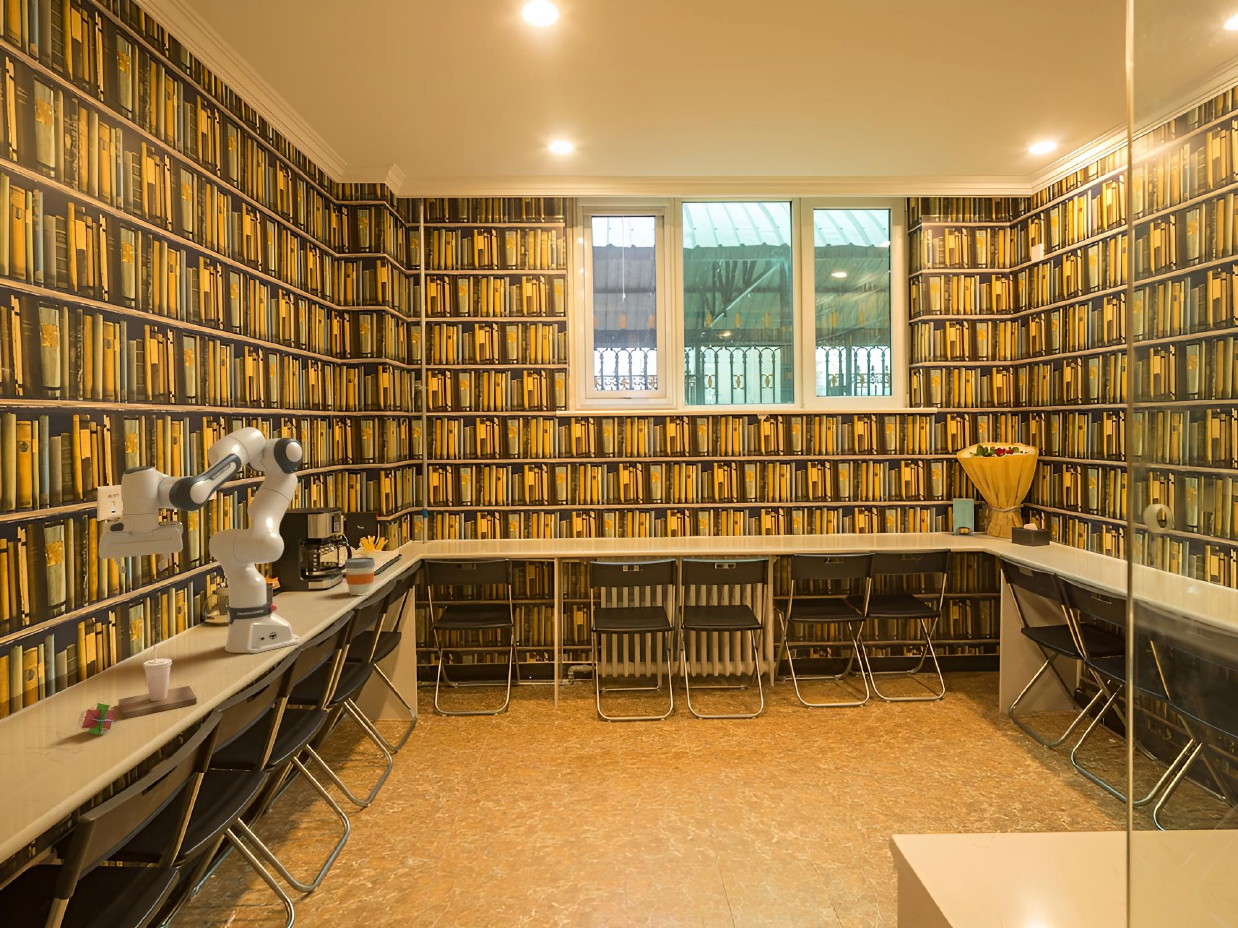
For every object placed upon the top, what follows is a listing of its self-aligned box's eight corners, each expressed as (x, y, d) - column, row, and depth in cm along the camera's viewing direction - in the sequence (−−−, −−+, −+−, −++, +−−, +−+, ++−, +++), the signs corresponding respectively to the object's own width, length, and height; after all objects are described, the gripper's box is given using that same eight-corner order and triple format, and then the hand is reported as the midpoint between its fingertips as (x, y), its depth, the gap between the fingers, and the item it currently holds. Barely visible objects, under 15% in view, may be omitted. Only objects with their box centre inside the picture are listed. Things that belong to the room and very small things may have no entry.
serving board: (189, 690, 199) (189, 685, 199) (196, 703, 190) (196, 697, 190) (118, 704, 189) (118, 699, 189) (122, 718, 180) (122, 712, 180)
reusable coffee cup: (380, 593, 320) (380, 559, 319) (353, 598, 311) (352, 563, 310) (366, 589, 328) (366, 556, 328) (340, 593, 319) (339, 559, 319)
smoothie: (154, 693, 193) (153, 641, 192) (178, 693, 193) (177, 641, 192) (138, 702, 186) (136, 648, 186) (162, 702, 186) (161, 648, 186)
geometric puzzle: (112, 713, 178) (90, 694, 173) (131, 717, 175) (109, 697, 171) (88, 739, 173) (65, 720, 168) (107, 744, 170) (84, 725, 165)
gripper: (181, 519, 217) (182, 565, 218) (97, 524, 205) (99, 573, 205) (184, 521, 212) (185, 568, 213) (98, 527, 200) (100, 576, 200)
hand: (142, 570), depth 209 cm, fingers open, 8 cm apart
